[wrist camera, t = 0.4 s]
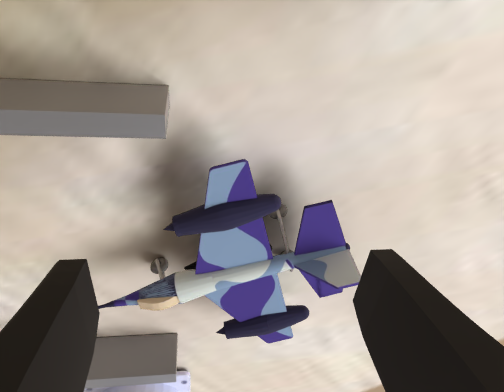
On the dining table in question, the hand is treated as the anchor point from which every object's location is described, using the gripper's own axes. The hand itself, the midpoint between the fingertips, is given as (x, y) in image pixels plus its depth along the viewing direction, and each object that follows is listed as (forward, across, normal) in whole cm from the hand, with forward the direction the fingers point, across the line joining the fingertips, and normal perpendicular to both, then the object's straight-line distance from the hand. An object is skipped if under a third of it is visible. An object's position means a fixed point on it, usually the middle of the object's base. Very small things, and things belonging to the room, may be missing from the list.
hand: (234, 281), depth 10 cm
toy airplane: (+10, -1, +8) cm, 13 cm away
